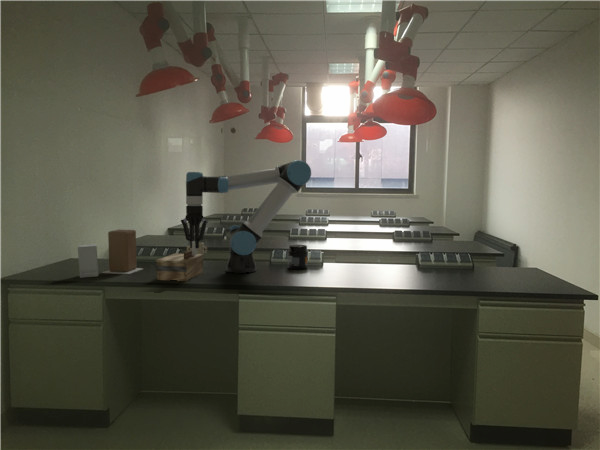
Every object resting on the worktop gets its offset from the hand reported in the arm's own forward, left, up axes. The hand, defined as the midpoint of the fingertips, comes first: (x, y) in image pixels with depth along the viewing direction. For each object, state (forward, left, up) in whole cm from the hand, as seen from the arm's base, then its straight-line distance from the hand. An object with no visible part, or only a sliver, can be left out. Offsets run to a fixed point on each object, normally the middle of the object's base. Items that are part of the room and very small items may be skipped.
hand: (194, 255), depth 216 cm
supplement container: (-44, -33, -11) cm, 56 cm away
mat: (+40, -6, -10) cm, 42 cm away
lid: (+7, 0, -2) cm, 7 cm away
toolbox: (+7, 0, -10) cm, 13 cm away
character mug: (+8, -23, -11) cm, 27 cm away
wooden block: (+40, -6, -10) cm, 42 cm away
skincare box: (+49, +9, -11) cm, 51 cm away
